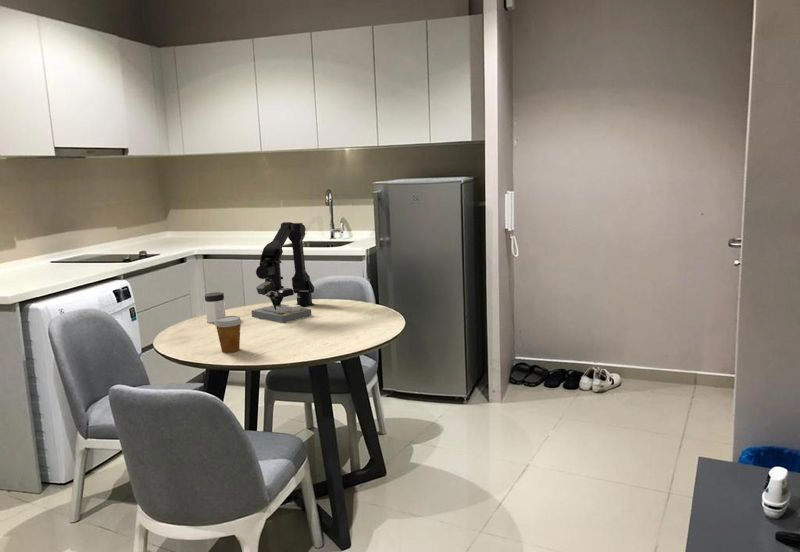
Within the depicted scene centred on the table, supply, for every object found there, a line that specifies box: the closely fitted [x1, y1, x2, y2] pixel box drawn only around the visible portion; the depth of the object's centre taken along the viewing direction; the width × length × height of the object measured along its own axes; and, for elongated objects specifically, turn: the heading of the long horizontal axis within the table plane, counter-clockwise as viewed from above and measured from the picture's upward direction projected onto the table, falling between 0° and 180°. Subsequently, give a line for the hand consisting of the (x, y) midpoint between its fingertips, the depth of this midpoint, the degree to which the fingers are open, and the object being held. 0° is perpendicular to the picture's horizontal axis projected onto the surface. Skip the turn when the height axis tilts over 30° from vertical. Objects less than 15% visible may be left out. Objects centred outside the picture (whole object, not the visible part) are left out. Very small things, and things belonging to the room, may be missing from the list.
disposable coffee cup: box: [214, 315, 242, 354], centre depth 239 cm, size 10×10×12 cm
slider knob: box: [276, 304, 287, 313], centre depth 283 cm, size 3×3×3 cm
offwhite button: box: [286, 304, 302, 312], centre depth 290 cm, size 4×4×2 cm
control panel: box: [251, 303, 312, 324], centre depth 291 cm, size 16×22×3 cm
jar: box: [204, 291, 227, 324], centre depth 288 cm, size 9×8×12 cm
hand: (276, 310), depth 286 cm, fingers closed
